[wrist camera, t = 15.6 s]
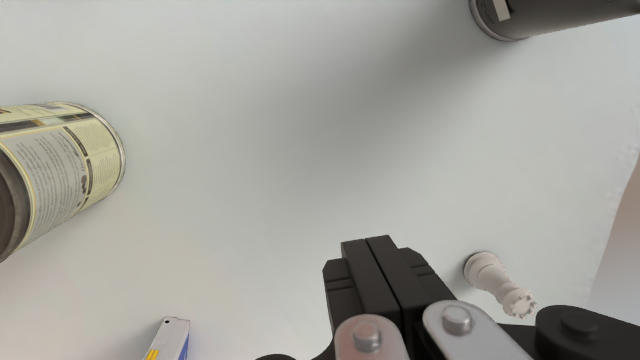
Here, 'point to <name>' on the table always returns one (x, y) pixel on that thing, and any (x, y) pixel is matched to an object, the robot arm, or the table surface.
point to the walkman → (170, 341)
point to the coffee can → (52, 168)
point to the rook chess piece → (499, 284)
